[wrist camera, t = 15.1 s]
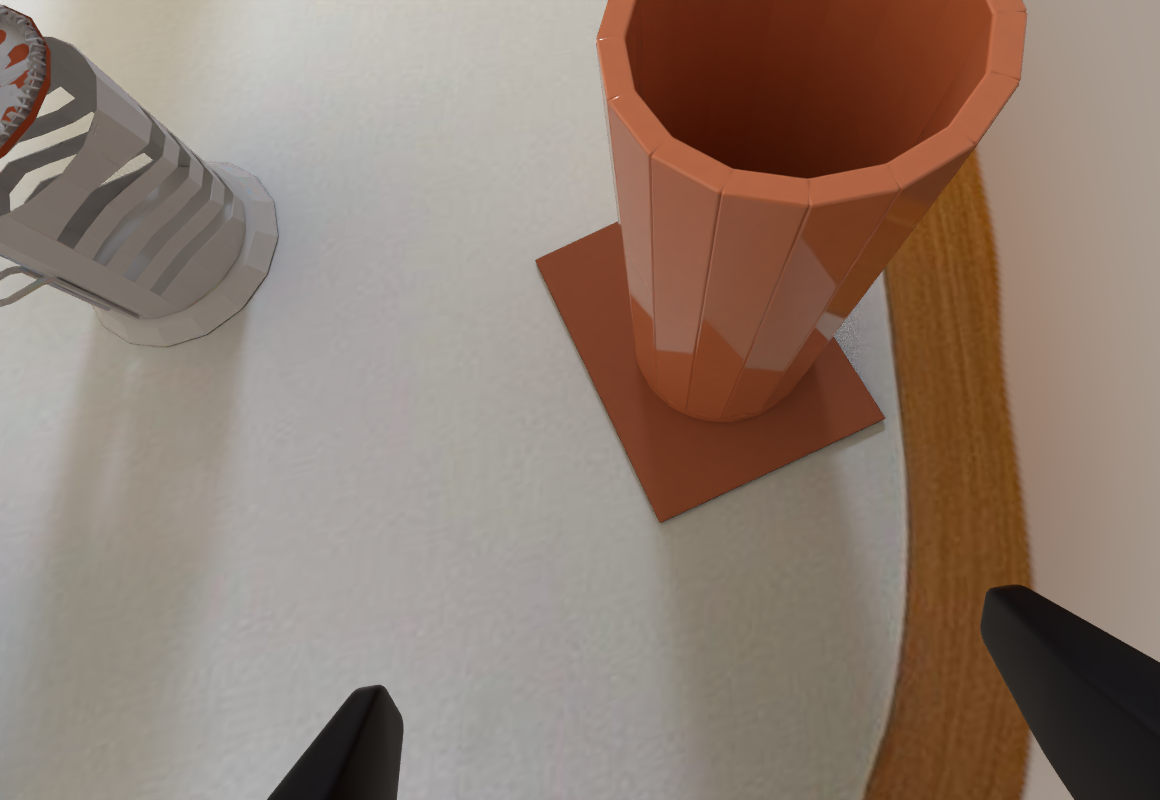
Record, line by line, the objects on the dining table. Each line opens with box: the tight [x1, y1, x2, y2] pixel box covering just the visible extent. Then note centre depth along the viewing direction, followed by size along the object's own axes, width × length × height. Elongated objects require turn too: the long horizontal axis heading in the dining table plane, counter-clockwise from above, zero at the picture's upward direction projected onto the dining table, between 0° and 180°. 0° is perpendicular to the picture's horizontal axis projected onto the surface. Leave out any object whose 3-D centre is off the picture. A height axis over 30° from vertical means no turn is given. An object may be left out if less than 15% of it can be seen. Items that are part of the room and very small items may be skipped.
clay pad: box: [535, 222, 885, 523], centre depth 23 cm, size 12×9×1 cm
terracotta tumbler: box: [596, 0, 1027, 422], centre depth 16 cm, size 7×7×14 cm
